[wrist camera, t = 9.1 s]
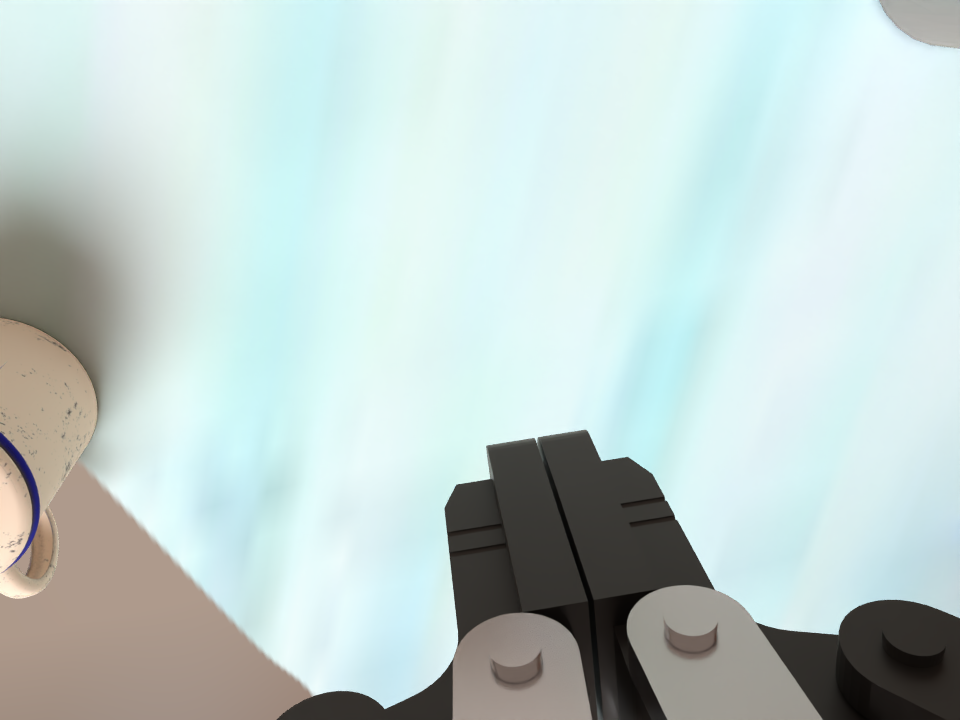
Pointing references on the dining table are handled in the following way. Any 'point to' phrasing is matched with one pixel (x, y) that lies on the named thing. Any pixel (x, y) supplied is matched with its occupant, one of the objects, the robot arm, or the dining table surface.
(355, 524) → the dining table surface
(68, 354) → the teacup with lid
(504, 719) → the robot arm
